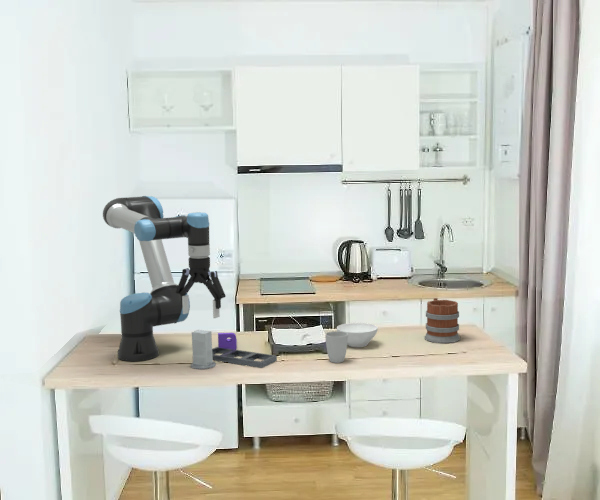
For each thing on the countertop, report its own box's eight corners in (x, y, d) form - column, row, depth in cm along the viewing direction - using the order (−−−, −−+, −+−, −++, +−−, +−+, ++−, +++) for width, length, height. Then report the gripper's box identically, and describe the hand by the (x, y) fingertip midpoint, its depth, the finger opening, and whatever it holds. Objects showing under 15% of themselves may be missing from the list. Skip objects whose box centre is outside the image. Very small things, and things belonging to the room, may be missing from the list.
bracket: (236, 351, 295) (235, 333, 294) (218, 351, 294) (217, 334, 293) (236, 343, 307) (236, 326, 306) (219, 343, 306) (219, 327, 305)
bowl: (379, 350, 291) (379, 332, 290) (337, 350, 291) (337, 332, 290) (376, 339, 307) (375, 322, 306) (336, 339, 307) (336, 322, 306)
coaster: (185, 367, 273) (185, 365, 273) (201, 360, 281) (201, 359, 281) (205, 370, 269) (205, 369, 269) (220, 364, 276) (220, 362, 276)
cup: (350, 358, 280) (350, 332, 279) (344, 364, 273) (344, 337, 271) (329, 356, 283) (329, 330, 281) (322, 363, 275) (322, 336, 274)
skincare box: (213, 363, 275) (212, 331, 274) (206, 366, 272) (205, 333, 270) (199, 361, 278) (198, 329, 276) (192, 364, 274) (191, 332, 273)
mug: (428, 344, 298) (429, 306, 296) (418, 332, 317) (418, 296, 315) (464, 343, 298) (464, 305, 296) (451, 331, 317) (451, 295, 315)
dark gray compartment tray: (200, 358, 284) (200, 353, 284) (217, 351, 293) (216, 346, 292) (261, 368, 270) (261, 362, 270) (276, 360, 279) (276, 355, 279)
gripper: (164, 255, 272) (167, 313, 276) (221, 260, 260) (223, 321, 263) (178, 252, 279) (180, 309, 282) (234, 257, 266) (235, 317, 269)
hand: (201, 315), depth 272 cm, fingers open, 13 cm apart
